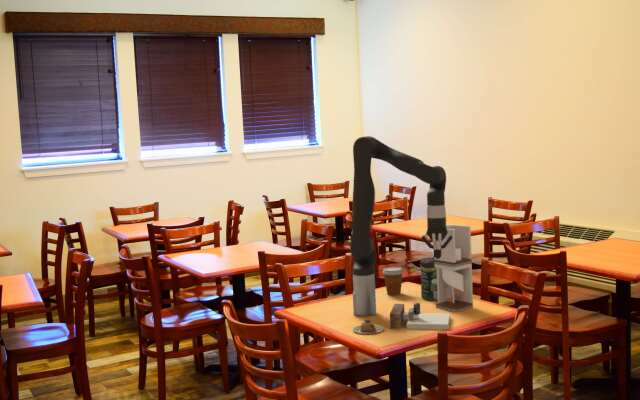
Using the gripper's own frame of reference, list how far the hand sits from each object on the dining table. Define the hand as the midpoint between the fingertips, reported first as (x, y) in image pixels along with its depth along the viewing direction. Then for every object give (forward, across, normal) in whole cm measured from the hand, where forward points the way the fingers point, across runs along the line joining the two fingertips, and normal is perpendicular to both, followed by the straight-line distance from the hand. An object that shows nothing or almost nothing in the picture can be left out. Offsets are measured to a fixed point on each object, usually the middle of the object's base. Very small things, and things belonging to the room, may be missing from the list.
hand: (437, 258), depth 313 cm
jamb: (+25, -16, -7) cm, 31 cm away
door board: (+25, -4, -7) cm, 26 cm away
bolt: (+23, -13, -7) cm, 27 cm away
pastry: (+26, -27, -18) cm, 41 cm away
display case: (+25, +5, +18) cm, 31 cm away
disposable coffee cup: (+25, -24, +43) cm, 55 cm away
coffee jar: (+25, -6, +34) cm, 43 cm away
